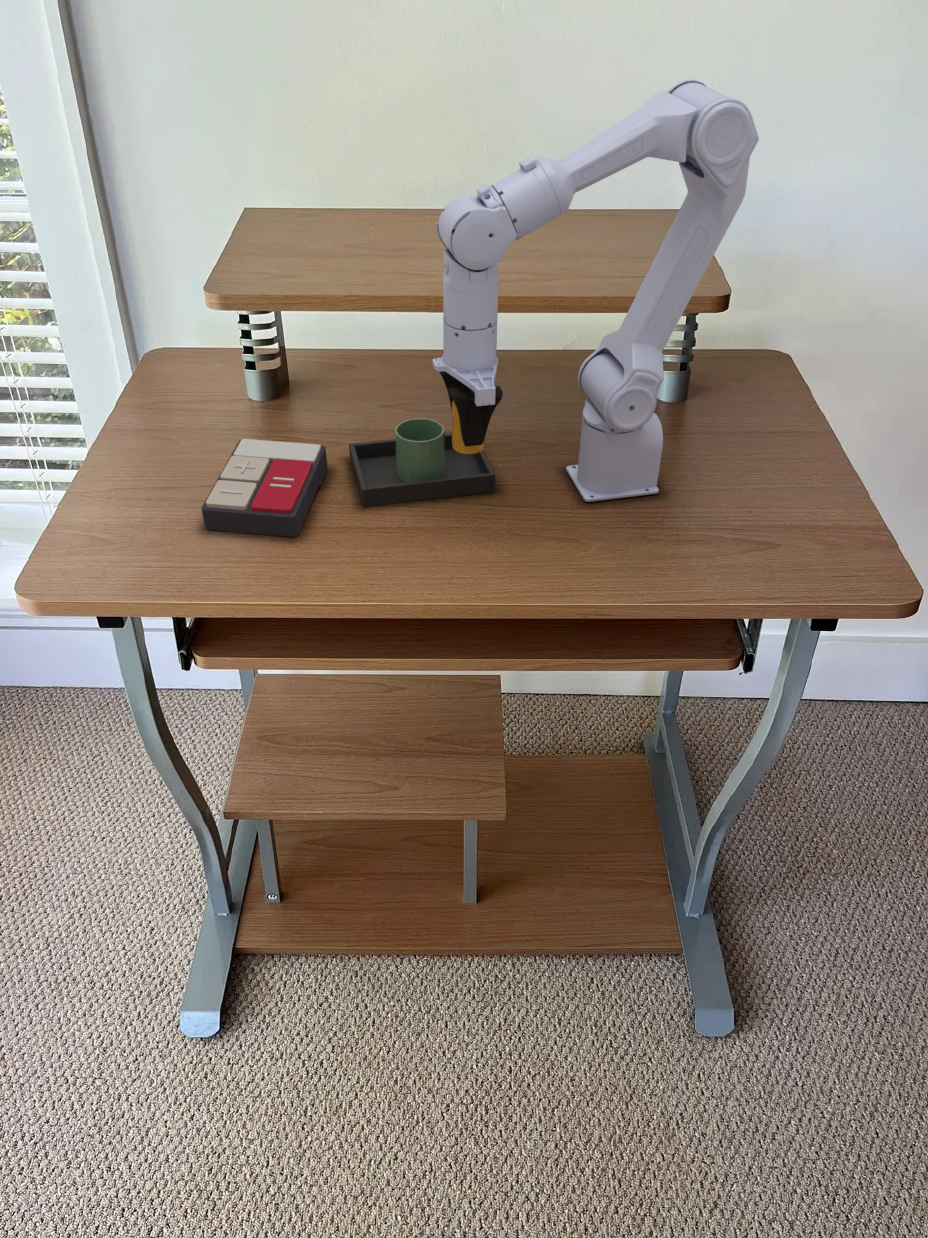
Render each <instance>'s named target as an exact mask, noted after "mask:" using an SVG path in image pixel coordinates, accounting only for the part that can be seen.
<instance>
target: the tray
mask: <svg viewBox="0 0 928 1238" xmlns="http://www.w3.org/2000/svg"><path fill="white" fill-rule="evenodd" d="M348 451H349V460H350V465H351V468H352V472H353V475H354V479H355V483H356V484H355V485H356V487H357V491H358V495H359V498H360V502H361V505H362V507H363V508H366V507H375V506H383V505H392V504H401V503H410V502H417V501H418V502H419V501H427V500H434V499H435V500H436V499H443V498H452V497H453V498H454V497H461V496H462V497H463V496H470V495H478V494H488V493H495V492H496V474H495V472H494V469H493V467H492V464H491V463H490V461H489V459H488V457H487V454H486V453H485V451H484V449H483V450H482V451H480V452H478V453H475V454H463V453H459V452H457V451H455V450H454V449H453V447H452V432H449V433H448V432H447V433H445V471H444V476H443V477H442V478H441V479H432V480H423V481H414V482H403V481H402V480H400V479H399V478H398V476H397V471H396V450H395V438H391V439H384V440H383V439H381V440H371V441H362V442H353V443H352V442H351V443H348Z"/></svg>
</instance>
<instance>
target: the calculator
mask: <svg viewBox="0 0 928 1238" xmlns="http://www.w3.org/2000/svg"><path fill="white" fill-rule="evenodd" d="M328 471H329V465H328V457H327V449H326V446H325V445H323V444H317V443H306V442H305V443H304V442H293V441H292V442H291V441H279V440H265V439H252V438H242V439H239V440H238V442H237V444H236V445H235V447H234V449H233V451H232V453H231V454H230V456H229V457H228V459H227V461H226V463H225V465H224V467H223V469H222V470H221V472H220V474H219V476H218V478H217V480H216V481H215V483H214V485H213V487H212V488H211V490H210V491H209V493H208V495H207V497H206V499H205V501H204V503H203V504H202V506H201V512H202V513H201V514H202V519H203V522H204V527H205V530H208V531H216V532H217V531H218V532H220V531H221V532H227V533H228V532H229V533H239V534H240V533H241V534H252V535H254V534H255V535H265V536H274V537H288V538H297V537H298V536H299V535H300V532H301V530H302V527H303V526H304V523H305V521H306V518H307V516H308V514H309V511H310V509H311V506H312V504H313V502H314V499H315V497H316V494H317V493H318V490H319V488H320V487H321V486H323V483H324V481H325V478H326V476H327V474H328Z"/></svg>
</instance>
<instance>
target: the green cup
mask: <svg viewBox="0 0 928 1238" xmlns="http://www.w3.org/2000/svg"><path fill="white" fill-rule="evenodd" d="M445 431H446V430H445V427H444V425H443V424H442V423H440V422H439V421H437V420H434V419H431V418H425V417H417V418H416V417H415V418H409V419H405V420H403V421H401V422H399V423H398V424H396V426H395V429H394V439H395V450H396V471H397V476H398V478H399V479H400V480H402V481H403V482H414V481H423V480H432V479H441V478H442V477H443V476H444V471H445V434H446V432H445Z"/></svg>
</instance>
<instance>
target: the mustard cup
mask: <svg viewBox="0 0 928 1238" xmlns="http://www.w3.org/2000/svg"><path fill="white" fill-rule="evenodd" d="M451 433H452V447H453V449H454V450H455V451H457V452H459V453H463V454H475V453H478V452H480V451H482V450H483V451H484V449H485V446H486V445H485V444H486V438H485V439H484V442H483V444H482V445H476V446H467V447H466V446H465V445H464V442H463V439H462V435H461V428H460V421H459V415H458V411H457V408H456V405H455V402H454V400H453V402H452V410H451Z"/></svg>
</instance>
